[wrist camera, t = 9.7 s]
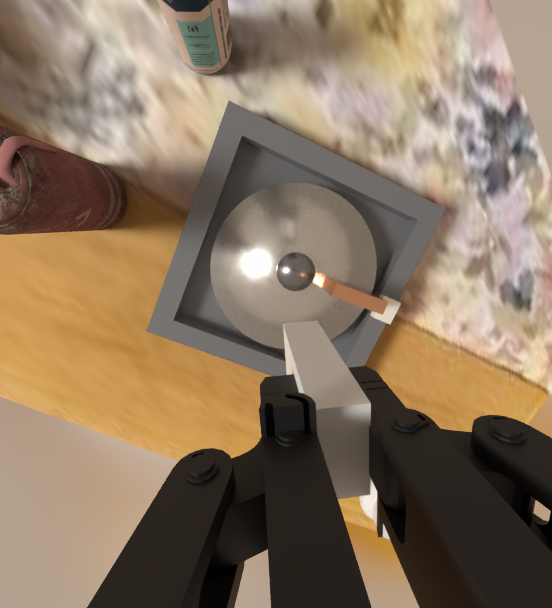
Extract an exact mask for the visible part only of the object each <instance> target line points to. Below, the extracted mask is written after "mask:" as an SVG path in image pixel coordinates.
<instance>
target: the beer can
mask: <svg viewBox="0 0 552 608" xmlns="http://www.w3.org/2000/svg"><path fill="white" fill-rule="evenodd" d="M158 2H159V5H160V7H161V10H162V12H163V14H164V17H165V19H166V22H167V24H168V26H169V29H170V31H171V33H172V36H173V38H174V41H175V43H176V45H177V49H178V52H179V54H180V57H181V58H182V60H183V62H184V63H185V64H186V65H187V66H188V67H189V68H190V69H192V70H194V71H195V72H198V73H201V74H212V73H215V72H217V71H219V70H220V69H222V68H223V67H224V66H225V65H226V63H227V62H228V60H229V57H230V55H231V49H232V39H231V30H230V20H229V10H228V1H227V0H158Z"/></svg>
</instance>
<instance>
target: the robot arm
mask: <svg viewBox="0 0 552 608" xmlns="http://www.w3.org/2000/svg"><path fill="white" fill-rule="evenodd" d="M283 331H284V345H285V359H286V374H287V375H281V376H271V377H265V379H264V380H263V381H262V383H261V384H260V395H261V404H260V408H259V414H260V424H261V434H262V437H261V439H260V441H259V443H258V444H257V445H256V446H255V447H254V448H253V449H251V450H250V451H248V452H247V453H244V454H242V455H240V456H237V457H235V458H232V459H231V457H230V455H228V454H227V453H225V452H224V451H223V450H218V449H214V448H211V449H201V450H198V451H195V452H192V453H190V454H188V455H187V456H185V457H184V458H182V459H181V460H180V461H179V462H178V463H177V464H176V466H175V467H174V468H173V469H172V471H171V473H170V474H169V476H168V477H167V479H166V481H165V482H164V484H163V485H162V487H161V489H160V490H159V492H158V494H157V495H156V497H155V498H154V500H153V502H152V503H151V505H150V507H149V508H148V510H147V511H146V513H145V515H144V516H143V518H142V520H141V521H140V523H139V525H138V526H137V528H136V529H135V531H134V532H133V534H132V536H131V537H130V539H129V541H128V543H127V544H126V545H125V547H124V549H123V550H122V552H121V554H120V555H119V557H118V559H117V560H116V562H115V563H114V565H113V567H112V568H111V570H110V571H109V573H108V575H107V577H106V578H105V580H104V581H103V583H102V584H101V586H100V588H99V589H98V591H97V592H96V594H95V596H94V597H93V599H92V601H91V602H90V604H89V605H88V607H87V608H234V606H235V602H236V597H237V594H238V590H239V585H240V581H241V577H242V573H243V569H244V561H245V560H247V559H249V558H251V557H253V556H255V555H257V554H259V553H261V552H263V551H265V550H267V549H268V557H269V576H270V594H271V608H371V604H370V601H369V598H368V595H367V592H366V588H365V585H364V582H363V579H362V576H361V573H360V570H359V566H358V563H357V560H356V556H355V553H354V550H353V547H352V544H351V540H350V538H349V534H348V531H347V528H346V525H345V521H344V518H343V515H342V512H341V509H340V505H339V502H338V499H341V498H349V497H357V496H365V495H370V481H371V479H372V482H373V484H374V486H375V488H376V490H377V532H378V537H383V524H384V526H385V529H386V531H387V533H388V536H389V538H390V540H391V542H392V545H393V547H394V549H395V552H396V554H397V556H398V559H399V561H400V563H401V565H402V568H403V570H404V573H405V575H406V577H407V580H408V582H409V584H410V586H411V589H412V591H413V594H414V596H415V598H416V600H417V603H418V605H419V607H420V608H552V438H550V437H549V436H547V435H545V434H543V433H541V432H539V431H538V430H536V429H534V428H532V427H531V426H529V425H527V424H525V423H522V422H520V421H518V420H515V419H512V418H508V417H505V416H499V415H498V416H497V415H487V416H480V417H479V418H477V419H475V420H474V423H473V426H472V432H463V431H453V430H445V429H440V428H439V427H438V426H437V424H436V423H435V422H434V421H433V420H432V419H431V418H429V417H428V416H427V415H425V414H423V413H421V412H419V411H416V410H412V409H408V408H406V407H405V406H404V405H403V404H402V402H401V401H400V400H399V399H398V397H397V396H396V395H395V394H394V393H393V391H392V390H391V389H390V388H389V386H388V385H387V384H386V383H385V382H383V379H382V378H381V377H380V376H379V374H378V373H377V372H376V371H374V370H372V369H370V368H368V367H367V366H358V367H349V368H348V367H347V366H346V364H345V363H344V361H343V360H342V358H341V357H340V355H339V354H338V352H337V351H336V349H335V347H334V346H333V344H332V343H331V341H330V340H329V338H328V337H327V335H326V334H325V332H324V331H323V329H322V328H321V326H320V324H319V323H318V321H306V322H296V323H285V324H283ZM535 500H537V501H538V502H540V503H541V504H543V505H544V506H545V507H546V508H548V509H549V510H550V511H551V514H550V519H549V521H544V520H542V519H541V518H539V517H538V516H536V515H535V514H534V513H533V512H534V506H535Z"/></svg>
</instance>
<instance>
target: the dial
mask: <svg viewBox="0 0 552 608" xmlns="http://www.w3.org/2000/svg"><path fill="white" fill-rule="evenodd" d="M376 269H377V258H376V250H375V245H374V241H373V238H372V235H371V232H370V230H369V228H368V226H367V224H366V222H365V221H364V219H363V218H362V216H361V215H360V213H359V212H358V211H357V210H356V209H355V207H353V206H352V205H351V204H350V203H349V202H348V201H347V200H346V199H344V198H343V197H341V196H340V195H338V194H337V193H335V192H333V191H331V190H329V189H327V188H324V187H321V186H318V185H314V184H309V183H299V182H291V183H281V184H277V185H273V186H269V187H267V188H264V189H262V190H259V191H257V192H256V193H254V194H252V195H250V196H249V197H247V198H246V199H245V200H243V201H242V202H241V203H240V204H239V205H238V206H237V207H236V208H235V209H234V210H233V211H232V212H231V213H230V214H229V215H228V217H227V218H226V219H225V221H224V222H223V224H222V226H221V228H220V229H219V231H218V234H217V236H216V239H215V241H214V245H213V249H212V253H211V262H210V275H211V282H212V287H213V291H214V294H215V297H216V299H217V302H218V304H219V306H220V308H221V309H222V311H223V313H224V314H225V316H226V317H227V318H228V319H229V321H230V322H231V323H232V324H233V325H234V326H235V327H236V328H237V329H238V330H239V331H240V332H242V333H243V334H245V335H246V336H247V337H249V338H251V339H253V340H254V341H256V342H259V343H261V344H264V345H266V346H270V347H274V348H280V349H285V345H284V331H283V324H285V323H296V322H306V321H318V323H319V324H320V326H321V328H322V329H323V331H324V332H325V334H326V335H327V337H328V338H329V340H331V339H333V338H335V337H336V336H338V335H339V334H341V333H342V332H343V331H345V330H346V329H347V328H348V327H349V326H350V325H351V324H352V323H353V322H354V321H355V320H356V319H357V318H358V316H359V315H360V314H361V312H362V311H363V309H364V308H365V309H368V310H371V311H374V312H376V313H379V314H382V315H383V314H384V311H385V309H386V307H387V305H388V303H389V302H387V301H385V300H384V299H382V298H380V297H379V296H377V295H375V294H373V293H372V290H373V287H374V283H375V278H376Z"/></svg>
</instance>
